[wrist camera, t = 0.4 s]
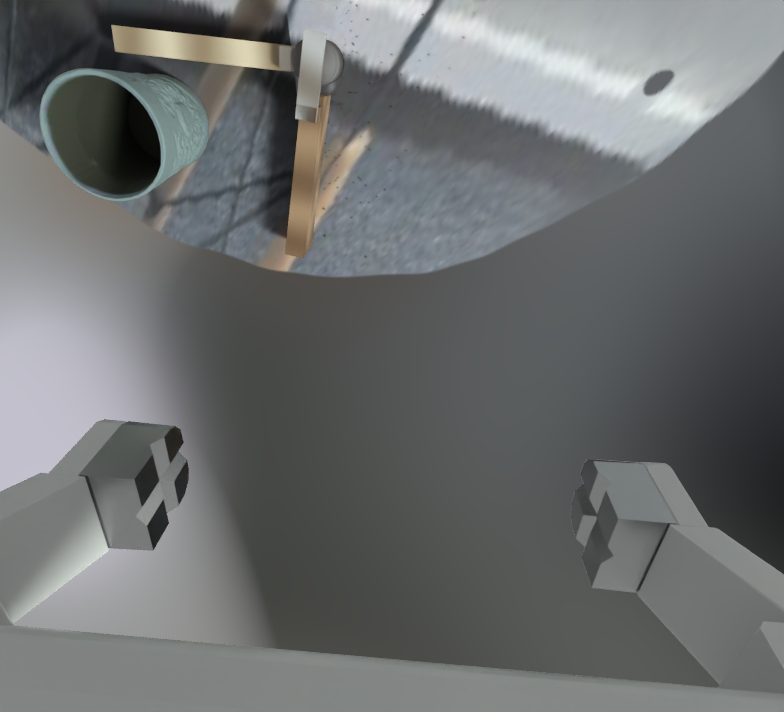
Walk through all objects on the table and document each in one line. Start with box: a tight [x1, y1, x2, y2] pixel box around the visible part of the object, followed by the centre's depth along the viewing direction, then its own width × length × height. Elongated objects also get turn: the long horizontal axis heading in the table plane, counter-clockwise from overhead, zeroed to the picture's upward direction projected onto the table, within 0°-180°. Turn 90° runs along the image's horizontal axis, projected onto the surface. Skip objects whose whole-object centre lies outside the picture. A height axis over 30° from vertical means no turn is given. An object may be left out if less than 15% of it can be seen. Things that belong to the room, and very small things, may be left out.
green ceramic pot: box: [39, 68, 209, 201], centre depth 46 cm, size 10×10×12 cm
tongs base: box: [111, 25, 344, 85], centre depth 46 cm, size 20×4×6 cm, turn 84°
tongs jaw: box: [285, 29, 331, 258], centre depth 49 cm, size 20×2×6 cm, turn 168°
